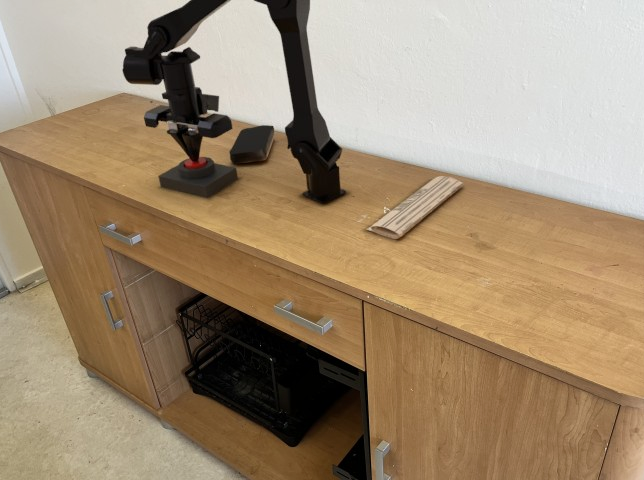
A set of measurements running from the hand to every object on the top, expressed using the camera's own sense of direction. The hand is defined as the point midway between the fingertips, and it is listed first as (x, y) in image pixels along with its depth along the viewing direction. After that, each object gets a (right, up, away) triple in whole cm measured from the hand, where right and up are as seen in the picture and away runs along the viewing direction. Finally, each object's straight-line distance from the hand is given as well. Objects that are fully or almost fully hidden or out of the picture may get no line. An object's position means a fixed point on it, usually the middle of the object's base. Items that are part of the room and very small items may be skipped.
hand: (195, 161), depth 128 cm
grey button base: (0, -4, +3) cm, 5 cm away
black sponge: (+10, +5, +15) cm, 19 cm away
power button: (0, -2, +1) cm, 2 cm away
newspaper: (+45, -12, -12) cm, 48 cm away
